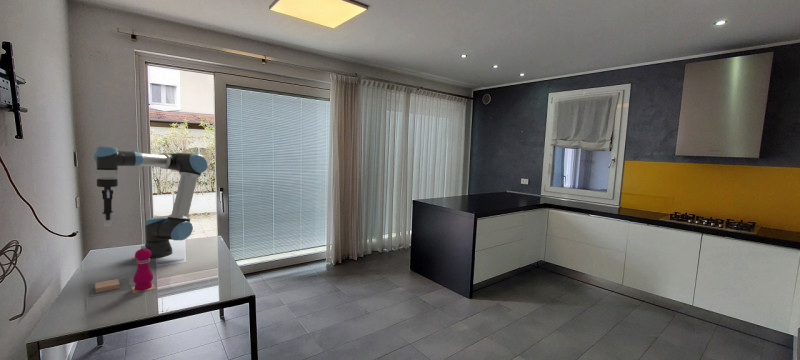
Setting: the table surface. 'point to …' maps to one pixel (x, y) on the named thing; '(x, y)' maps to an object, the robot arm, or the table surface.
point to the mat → (123, 286)
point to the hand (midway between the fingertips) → (107, 226)
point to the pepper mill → (143, 269)
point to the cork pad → (142, 290)
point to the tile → (107, 285)
